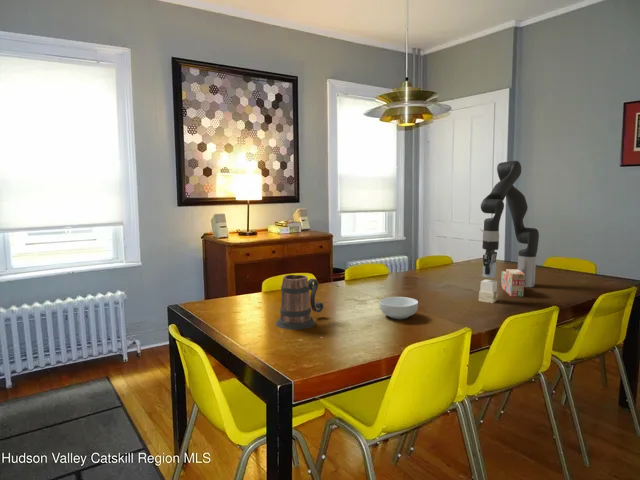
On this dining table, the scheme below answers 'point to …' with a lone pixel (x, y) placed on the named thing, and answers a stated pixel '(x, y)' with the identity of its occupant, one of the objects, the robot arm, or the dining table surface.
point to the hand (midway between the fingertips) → (489, 273)
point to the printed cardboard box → (513, 282)
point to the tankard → (297, 302)
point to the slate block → (492, 270)
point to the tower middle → (488, 286)
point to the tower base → (488, 296)
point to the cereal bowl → (398, 307)
